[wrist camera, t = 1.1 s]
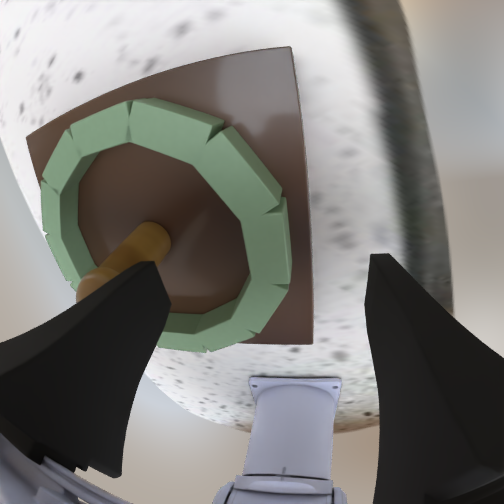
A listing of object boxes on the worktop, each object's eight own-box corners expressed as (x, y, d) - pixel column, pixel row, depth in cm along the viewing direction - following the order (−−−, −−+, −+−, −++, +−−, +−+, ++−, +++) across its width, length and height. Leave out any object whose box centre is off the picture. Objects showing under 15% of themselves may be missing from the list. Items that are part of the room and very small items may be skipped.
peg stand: (313, 315, 18) (308, 434, 11) (121, 308, 21) (72, 386, 14) (293, 54, 10) (277, -5, 3) (52, 126, 13) (-50, 174, 6)
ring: (297, 335, 15) (295, 357, 14) (110, 322, 18) (100, 337, 17) (269, 70, 8) (263, 66, 7) (36, 146, 11) (16, 155, 10)
